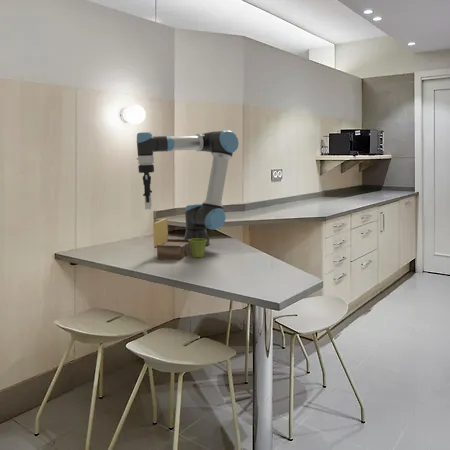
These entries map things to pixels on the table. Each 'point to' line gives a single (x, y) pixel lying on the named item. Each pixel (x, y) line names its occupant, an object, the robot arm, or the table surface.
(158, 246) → the brown cardboard box
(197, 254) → the plant pot
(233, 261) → the table surface
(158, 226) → the pale yellow rectangular panel
